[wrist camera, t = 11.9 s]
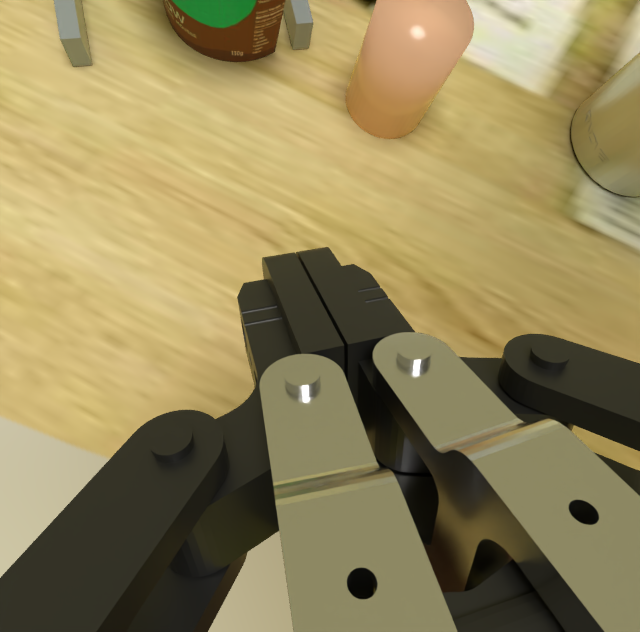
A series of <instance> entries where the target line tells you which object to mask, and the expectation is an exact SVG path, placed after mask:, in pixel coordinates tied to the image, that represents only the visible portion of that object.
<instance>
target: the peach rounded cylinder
mask: <svg viewBox="0 0 640 632" xmlns="http://www.w3.org/2000/svg"><path fill="white" fill-rule="evenodd" d="M473 31H474V21H473V15H472V12H471V9H470V7H469V5H468V3H467V1H466V0H377V1H376V4H375V7H374V10H373V13H372V16H371V19H370V22H369V25H368V28H367V31H366V34H365V37H364V40H363V43H362V46H361V49H360V52H359V55H358V58H357V60H356V63H355V66H354V69H353V72H352V75H351V78H350V81H349V84H348V87H347V91H346V105H347V108H348V111H349V113H350V115H351V117H352V119H353V120H354V121H355V123H356V124H357V125H358V126H359V127H360V128H362V129H363V130H364V131H366V132H367V133H369V134H371V135H373V136H376V137H379V138H384V139H395V138H400V137H403V136H405V135H407V134H409V133H410V132H412V131H413V130H414V129H415V128H416V127H417V125H418V124H419V122H420V121H421V119H422V117H423V116H424V114H425V113H426V111H427V110H428V108H429V106H430V105H431V103H432V102H433V100H434V98H435V97H436V95H437V94H438V92H439V90H440V89H441V87H442V86H443V84H444V83H445V81H446V79H447V78H448V76H449V75H450V73H451V71H452V70H453V68H454V67H455V65H456V64H457V62H458V60H459V59H460V57H461V56H462V54H463V52H464V51H465V49H466V48H467V46H468V45H469V43H470V41H471V38H472V36H473Z"/></svg>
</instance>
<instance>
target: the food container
mask: <svg viewBox="0 0 640 632" xmlns="http://www.w3.org/2000/svg"><path fill="white" fill-rule="evenodd" d="M285 1H286V0H163V2H164V6H165V10H166V13H167V16H168V18H169V21H170V23H171V25H172V27H173V29H174V30H175V32H176V33H177V34H178V36H179V37H180V38H181V39H182V40H183V41H184V42H185V43H186V44H187V45H189V46H190V47H191V48H193V49H194V50H196V51H198V52H200V53H201V54H203V55H206V56H208V57H211V58H214V59H218V60H222V61H230V62H246V61H252V60H256V59H259V58H262V57H265V56H267V55H269V54H271V53H273V52H275V48H276V43H277V38H278V34H279V29H280V24H281V19H282V15H283V10H284V5H285Z"/></svg>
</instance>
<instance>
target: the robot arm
mask: <svg viewBox="0 0 640 632" xmlns="http://www.w3.org/2000/svg"><path fill="white" fill-rule="evenodd" d="M571 139H572V144H573V148H574V151H575V154H576V156H577V158H578V160H579V162H580V164H581V165H582V167H583V168H584V170H585V171H586V172H587V173H588V174H589V175H590V177H591V178H592V179H593V180H594V181H596V182H597V183H598V184H600V185H601V186H602V187H604V188H605V189H607V190H610V191H612V192H614V193H616V194H620V195H624V196H634V197H637V196H640V53H639V54H637V55H636V56H635V57H634V58H633V59H632V60H631V61H629V62H628V63H627V64H626V65H625V66H624V67H623V68H621V69H620V70H619V71H618V72H617V73H616V74H615V75H613V76H612V77H611V78H610V79H609V80H608V81H607V82H606V83H604V84H603V85H602V86H601V87H600V88H599V89H598V90H597V91H595V92H594V93H593V94H592V95H591V96H590V97H589V98H588V99H586V100H585V101H584V102H583V103H582V104H581V106H580V107H579V108H578V109H577V111H576V113H575V115H574V117H573V121H572V126H571ZM262 267H263V276H264V280H259V281H253V282H247V283H244V284H243V286H242V288H241V290H240V292H239V295H238V297H237V298H238V304H239V310H240V316H241V323H242V329H243V335H244V341H245V347H246V353H247V357H248V361H249V365H250V369H251V373H252V377H253V381H254V385H255V389H254V391H253V393H252V394H251V395H250V397H249V398H248V399H247V400H246V401H245V402H244V403H243V404H242V405H240V406H239V407H238V408H236V409H234V410H233V411H231V412H229V413H227V414H225V415H223V416H221V417H219V418H217V419H214V418H213V417H211V416H210V415H208V414H206V413H203V412H200V411H195V410H178V411H173V412H169V413H165V414H162V415H160V416H158V417H155V418H153V419H152V420H150V421H148V422H147V423H145V424H144V425H143V426H141V427H140V428H139V429H138V430H137V431H136V432H135V433H134V434H133V435H132V436H131V437H130V438H129V439H128V440H127V441H126V442H125V443H124V445H123V446H122V447H121V448H120V449H119V450H118V451H117V452H116V453H115V454H114V455H113V456H112V458H111V459H110V460H109V461H108V462H107V463H106V464H105V465H104V467H102V468H101V470H100V471H99V472H98V473H97V474H96V475H95V476H94V477H93V478H92V479H91V480H90V481H89V482H88V484H87V485H86V486H85V487H84V488H83V489H82V490H81V491H80V492H79V493H78V494H77V495H76V497H75V498H74V499H73V500H72V501H71V502H70V503H69V504H68V505H67V506H66V507H65V508H64V510H63V511H62V512H61V513H60V514H59V515H58V516H57V517H56V518H55V519H54V520H53V522H52V523H51V524H50V525H49V526H48V527H47V528H46V529H45V530H44V531H43V532H42V533H41V534H40V536H39V537H38V538H37V539H36V540H35V541H34V542H33V543H32V544H31V545H30V546H29V547H28V549H27V550H26V551H25V552H24V553H23V554H22V555H21V556H20V557H19V558H18V559H17V560H16V561H15V563H14V564H13V565H12V566H11V567H10V568H9V569H8V570H7V571H6V572H5V573H4V574H3V576H2V577H1V578H0V632H208V630H209V628H210V626H211V625H212V623H213V620H214V619H215V617H216V615H217V613H218V611H219V609H220V608H221V606H222V604H223V602H224V600H225V598H226V596H227V594H228V592H229V591H230V589H231V587H232V585H233V583H234V581H235V579H236V577H237V576H238V573H239V572H240V570H241V568H242V566H243V563H244V562H245V559H246V555H247V552H248V551H249V550H251V549H252V548H254V547H255V546H257V545H258V544H260V543H261V542H263V541H264V540H266V539H267V538H269V537H270V536H271V535H273V534H274V533H276V532H278V531H280V537H281V544H282V552H283V559H284V566H285V573H286V580H287V587H288V594H289V601H290V609H291V616H292V622H293V630H294V632H640V471H639V470H635V469H633V468H630V467H628V466H626V465H623V464H621V463H618V462H616V461H614V460H611V459H609V458H606V457H604V456H602V455H599V454H597V453H594V452H593V451H592V450H591V449H589V448H588V447H587V446H586V445H585V444H584V443H583V442H582V441H581V440H580V439H579V438H578V437H577V436H576V435H575V434H574V433H573V432H571V430H572V428H573V426H574V425H575V426H578V427H580V428H583V429H585V430H588V431H590V432H593V433H595V434H598V435H600V436H603V437H605V438H608V439H610V440H613V441H615V442H618V443H620V444H623V445H625V446H628V447H630V448H633V449H635V450H638V451H640V364H639V363H636V362H633V361H630V360H626V359H623V358H620V357H617V356H614V355H611V354H608V353H604V352H601V351H598V350H595V349H592V348H589V347H586V346H582V345H579V344H576V343H573V342H570V341H567V340H564V339H561V338H557V337H553V336H549V335H543V334H527V335H521V336H518V337H515V338H513V339H512V340H510V341H509V342H508V343H507V344H506V346H505V348H504V352H503V356H502V358H466V357H458V356H457V355H456V354H455V353H454V351H453V350H452V349H451V348H450V347H449V346H447V345H446V344H445V343H444V342H442V341H441V340H439V339H437V338H435V337H433V336H430V335H427V334H422V333H416V332H415V331H414V330H413V329H412V327H411V326H410V325H409V324H408V322H407V321H406V320H405V318H404V317H403V316H402V314H401V313H400V312H399V310H398V309H397V308H396V306H395V305H394V304H393V303H392V301H391V300H390V299H388V296H387V295H386V293H385V292H384V291H383V289H382V288H380V285H379V284H378V283H377V281H376V280H375V279H374V278H373V276H372V275H371V274H370V273H369V272H367V271H365V270H363V269H361V268H360V267H358V266H356V265H354V264H351V265H346V266H341V265H340V263H339V262H338V260H337V259H336V257H335V256H334V254H333V253H332V251H331V250H330V249H329V248H328V247H325V248H318V249H312V250H306V251H300V252H296V254H295V253H288V254H282V255H276V256H270V257H263V258H262Z"/></svg>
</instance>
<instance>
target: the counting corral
mask: <svg viewBox="0 0 640 632" xmlns="http://www.w3.org/2000/svg"><path fill="white" fill-rule="evenodd" d="M54 4H55V11H56V17H57V23H58V29H59V35H60V40H61V42H62V44H63V46H64V48H65V50H66V52H67V54H68V57H69V59H70V61H71V63H72V65H73V67H74V66H87V65H92V61H91V55H90V49H89V43H88V37H87V32H86V26H85V20H84V14H83V8H82V2H81V0H54ZM283 12H284V16H285V20H286V24H287V28H288V32H289V36H290V40H291V45H292V49H293V50H294V49H307V48H309V43H310V38H311V32H312V27H313V19H312V15H311V11H310V8H309V4H308V0H286V1H285V5H284V10H283Z"/></svg>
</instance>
